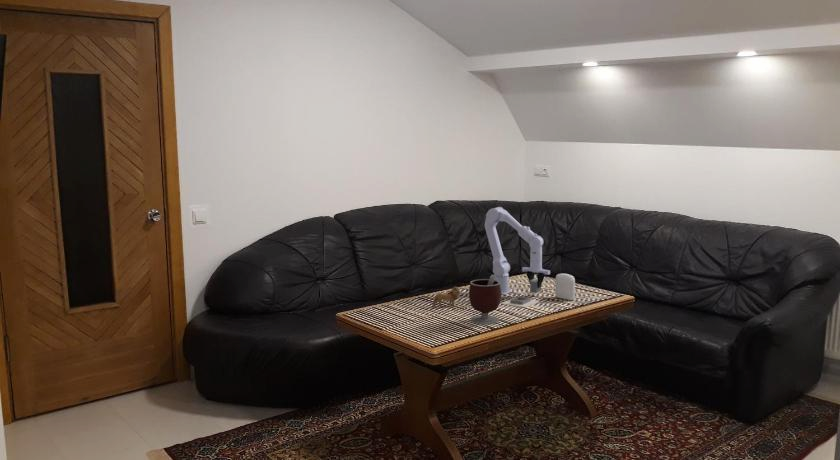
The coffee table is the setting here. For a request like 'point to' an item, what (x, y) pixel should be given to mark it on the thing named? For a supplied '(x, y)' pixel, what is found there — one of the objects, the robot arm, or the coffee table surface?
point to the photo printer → (565, 286)
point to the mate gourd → (485, 299)
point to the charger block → (534, 286)
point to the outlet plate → (520, 302)
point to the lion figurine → (447, 297)
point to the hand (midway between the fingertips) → (535, 287)
